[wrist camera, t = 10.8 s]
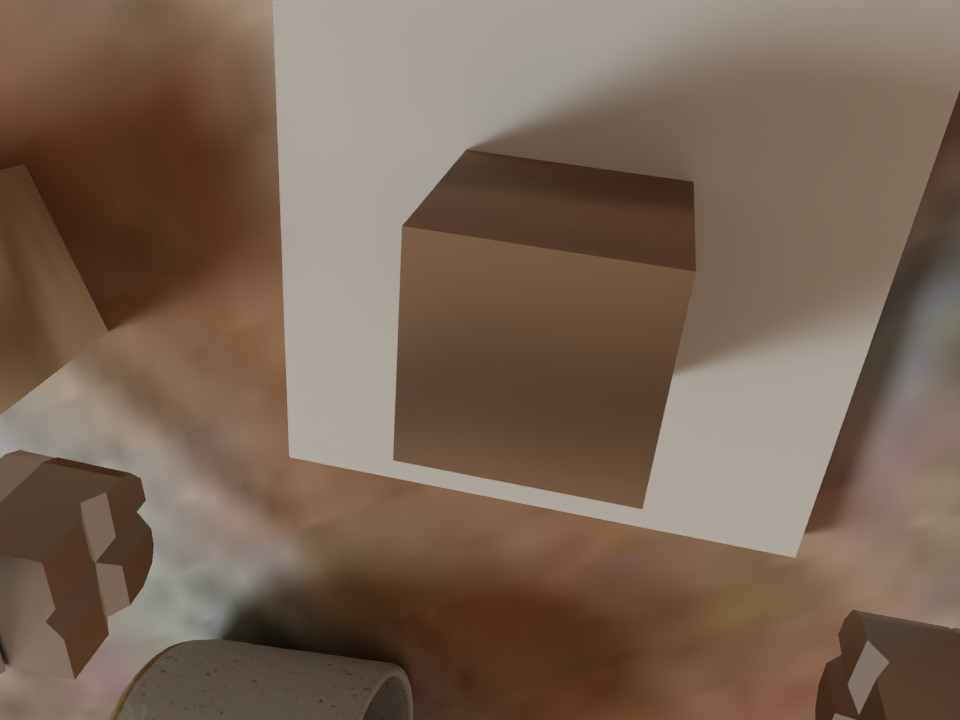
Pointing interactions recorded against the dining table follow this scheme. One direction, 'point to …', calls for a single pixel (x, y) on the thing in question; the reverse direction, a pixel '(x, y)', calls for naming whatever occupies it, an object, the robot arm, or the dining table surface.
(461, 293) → the walnut block
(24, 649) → the robot arm
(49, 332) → the maple block
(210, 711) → the ceramic mug
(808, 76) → the white coaster
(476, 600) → the dining table surface
